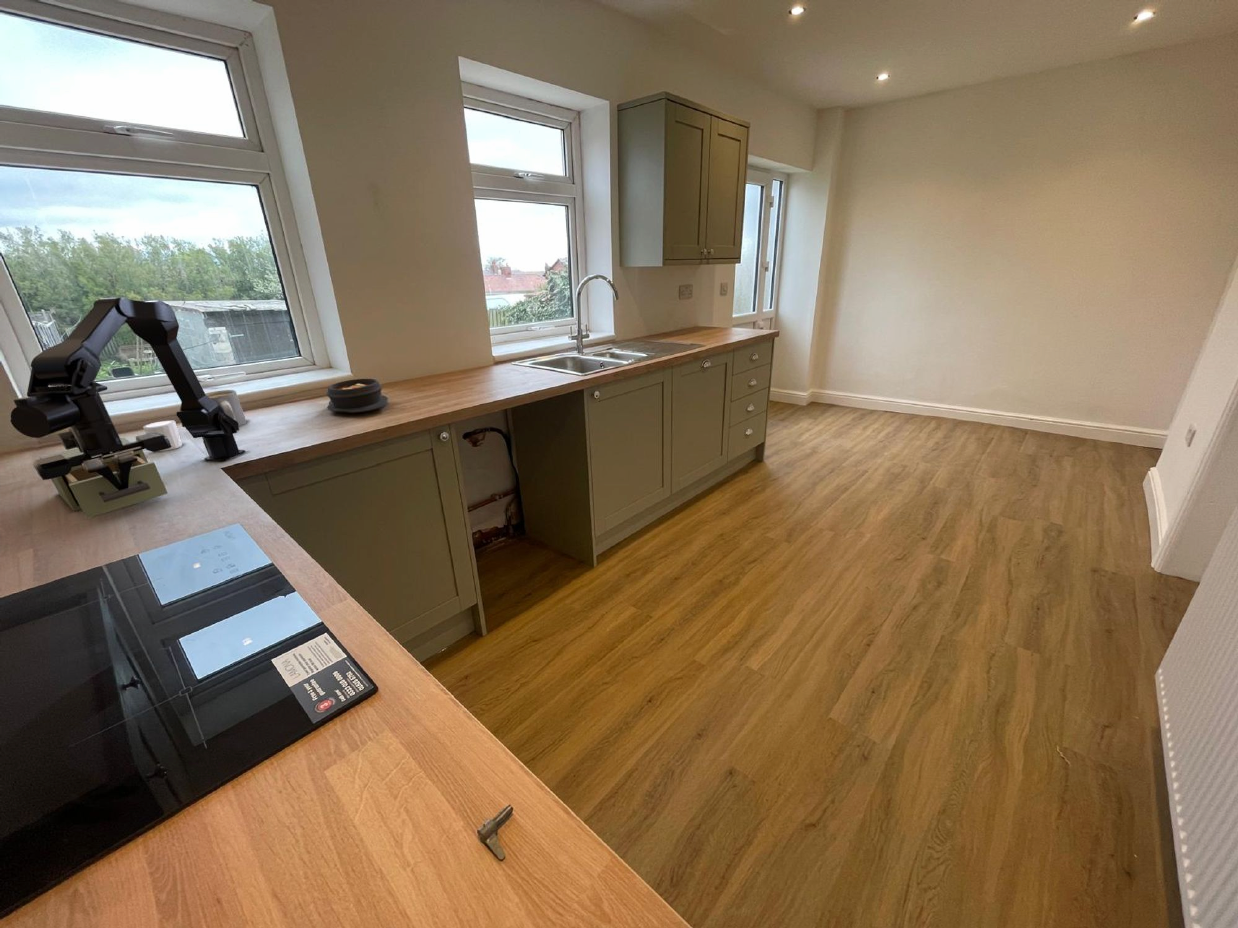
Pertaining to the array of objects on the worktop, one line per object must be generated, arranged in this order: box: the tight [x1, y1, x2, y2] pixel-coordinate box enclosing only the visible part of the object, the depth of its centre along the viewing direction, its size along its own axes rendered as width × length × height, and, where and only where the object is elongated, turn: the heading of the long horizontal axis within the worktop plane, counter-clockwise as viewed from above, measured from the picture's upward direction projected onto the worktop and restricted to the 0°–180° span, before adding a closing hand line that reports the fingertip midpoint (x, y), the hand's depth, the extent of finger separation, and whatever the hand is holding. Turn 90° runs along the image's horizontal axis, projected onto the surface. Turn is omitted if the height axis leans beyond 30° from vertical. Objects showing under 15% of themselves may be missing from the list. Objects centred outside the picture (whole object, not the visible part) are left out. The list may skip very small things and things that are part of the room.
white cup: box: [142, 419, 183, 452], centre depth 138 cm, size 7×7×7 cm
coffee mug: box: [205, 389, 247, 427], centre depth 154 cm, size 13×10×10 cm
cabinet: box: [38, 437, 149, 512], centre depth 112 cm, size 16×14×9 cm
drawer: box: [64, 455, 169, 519], centre depth 105 cm, size 19×13×7 cm
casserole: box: [325, 378, 389, 414], centre depth 166 cm, size 25×19×8 cm
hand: (125, 493), depth 101 cm, fingers closed
